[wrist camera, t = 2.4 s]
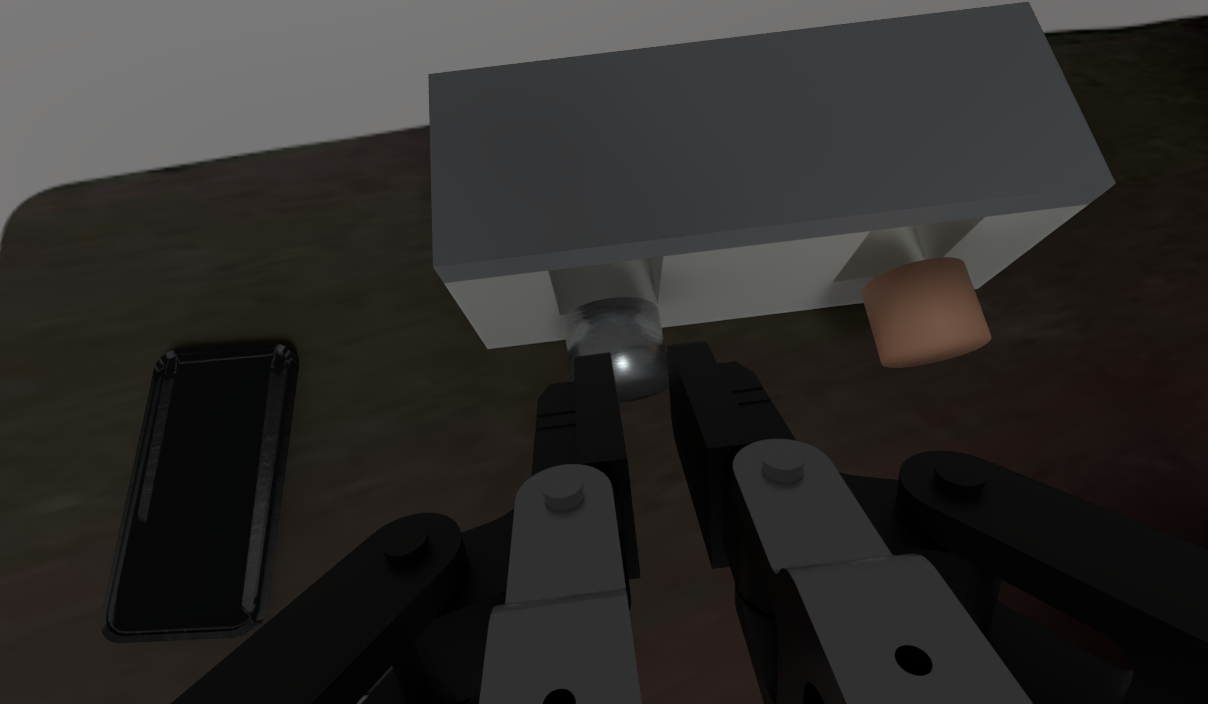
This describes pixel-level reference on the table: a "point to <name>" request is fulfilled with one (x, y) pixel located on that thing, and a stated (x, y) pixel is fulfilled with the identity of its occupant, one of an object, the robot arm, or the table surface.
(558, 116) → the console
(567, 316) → the black glossy rounded piece
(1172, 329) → the table surface
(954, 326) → the brown clay cylinder
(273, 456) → the phone
